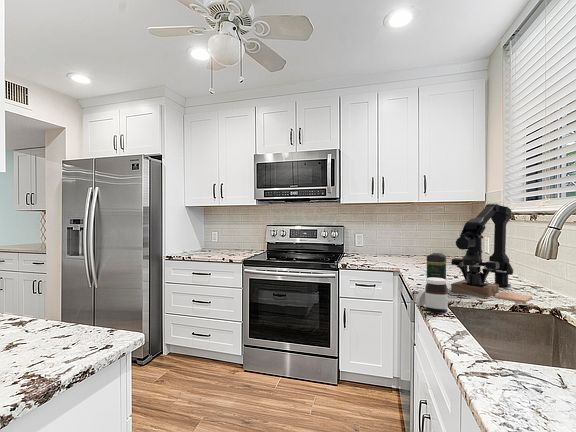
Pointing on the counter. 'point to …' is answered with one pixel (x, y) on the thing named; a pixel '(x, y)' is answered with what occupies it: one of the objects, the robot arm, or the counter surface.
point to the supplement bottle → (474, 276)
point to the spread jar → (434, 295)
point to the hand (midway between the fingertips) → (474, 281)
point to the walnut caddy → (475, 289)
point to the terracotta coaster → (513, 297)
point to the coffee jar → (436, 266)
